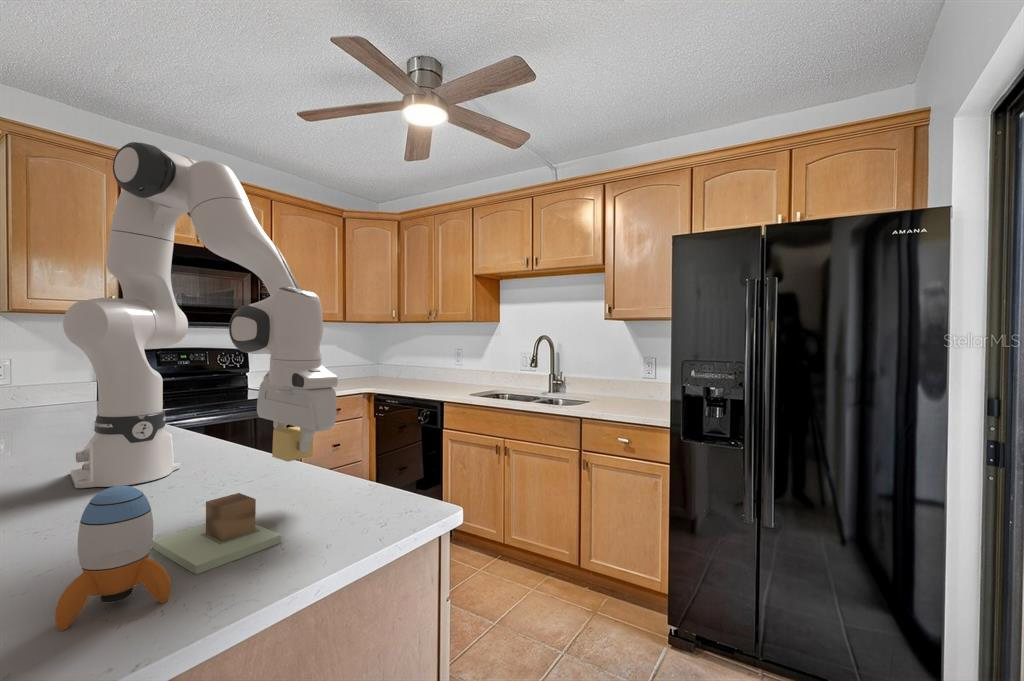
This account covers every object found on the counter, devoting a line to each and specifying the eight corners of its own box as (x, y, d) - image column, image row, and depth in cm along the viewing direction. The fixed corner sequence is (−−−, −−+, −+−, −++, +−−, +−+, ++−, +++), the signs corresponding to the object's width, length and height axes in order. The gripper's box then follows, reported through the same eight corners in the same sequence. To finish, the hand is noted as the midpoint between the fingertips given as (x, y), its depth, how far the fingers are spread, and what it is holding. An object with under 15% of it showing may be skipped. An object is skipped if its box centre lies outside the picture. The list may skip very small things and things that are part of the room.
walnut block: (205, 533, 75) (205, 501, 75) (238, 523, 79) (238, 492, 79) (222, 541, 72) (222, 508, 72) (255, 530, 76) (255, 499, 76)
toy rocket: (98, 593, 62) (132, 474, 64) (184, 604, 63) (215, 487, 65) (28, 630, 52) (71, 487, 54) (132, 643, 53) (170, 502, 55)
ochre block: (272, 456, 90) (273, 429, 90) (296, 451, 94) (297, 426, 94) (287, 461, 88) (288, 434, 87) (312, 456, 92) (313, 430, 92)
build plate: (151, 547, 72) (151, 539, 72) (233, 522, 83) (233, 514, 83) (196, 574, 65) (196, 564, 65) (280, 542, 75) (280, 534, 75)
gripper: (249, 370, 94) (246, 441, 94) (312, 380, 82) (309, 461, 83) (280, 369, 99) (277, 436, 99) (344, 378, 88) (341, 454, 88)
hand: (292, 447), depth 91 cm, fingers closed on ochre block, 5 cm apart
